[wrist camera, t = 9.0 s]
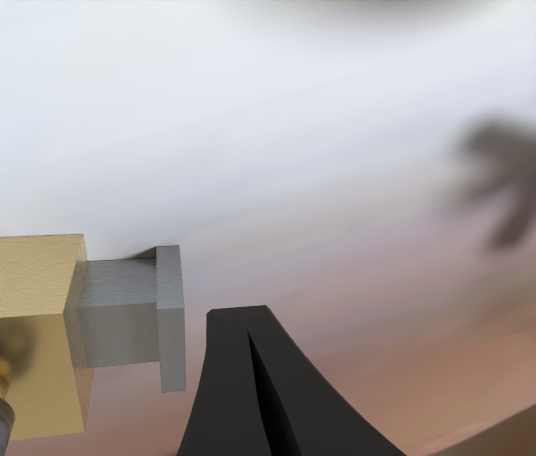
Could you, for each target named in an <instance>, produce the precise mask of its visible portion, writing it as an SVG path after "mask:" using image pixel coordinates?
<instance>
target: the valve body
mask: <svg viewBox="0 0 536 456" xmlns="http://www.w3.org/2000/svg"><path fill="white" fill-rule="evenodd" d="M156 255H157V258H145V259H126V260H107V261H88V262H87V257H86V250H85V243H84V236H83V234H74V235H50V236H25V237H1V238H0V398H2V399H4V400H5V401H6V402H7V403H8V404H9V405H10V406H11V407H12V409H13V411H14V414H15V422H14V425H13V428H12V432H11V435H10V438H9V441H15V440H23V439H31V438H39V437H47V436H55V435H63V434H71V433H79V432H85V427H86V420H87V413H88V407H89V400H90V393H91V387H92V380H93V373H94V368H95V367H105V366H115V365H125V364H135V363H146V362H156V361H160V374H161V391H162V393H165V392H174V391H183V390H186V364H185V321H184V299H183V287H182V274H181V262H180V249H179V246H159V247H156Z"/></svg>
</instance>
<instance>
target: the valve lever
mask: <svg viewBox="0 0 536 456" xmlns="http://www.w3.org/2000/svg"><path fill="white" fill-rule="evenodd" d="M14 422H15V414H14V411H13V409H12V407H11V406H10V405H9V404H8V403H7V402H6V401H5V400H4V399H2V398H0V456H4V455H5V451H6V448H7V445H8V441H9V438H10V435H11V432H12V428H13V425H14Z"/></svg>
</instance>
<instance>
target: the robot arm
mask: <svg viewBox="0 0 536 456" xmlns="http://www.w3.org/2000/svg"><path fill="white" fill-rule="evenodd" d="M177 456H407V455H405V454H404V453H403V452H402V451H401V450H399V449H398V448H397V447H396V446H395V445H394V444H392V443H391V442H390V441H389V440H388V439H386V438H385V437H384V436H383V435H382V434H381V433H380V432H379V431H377V430H376V429H375V428H374V427H373V426H372V425H371V424H370V423H369V422H367V421H366V420H365V419H364V418H363V417H362V416H361V415H360V414H359V413H358V412H357V411H356V410H355V409H354V408H353V407H352V406H351V405H350V404H349V403H348V402H347V401H346V400H345V399H344V398H343V397H342V396H341V395H340V394H339V393H338V392H337V391H336V390H335V389H334V388H333V387H332V385H331V384H330V383H329V382H328V381H327V380H326V379H325V378H324V377H323V376H322V374H321V373H320V372H319V371H318V370H317V369H316V367H315V366H314V365H313V364H312V363H311V362H310V361H309V359H308V358H307V357H306V356H305V355H304V353H303V352H302V351H301V350H300V349H299V347H298V346H297V345H296V344H295V342H294V341H293V340H292V338H291V337H290V336H289V335H288V333H287V332H286V331H285V329H284V328H283V327H282V325H281V324H280V323H279V321H278V320H277V318H276V317H275V316H274V314H273V313H272V311H271V310H270V309H269V308H268V307H267V306H266V305H261V306H248V307H235V308H223V309H212V310H210V311H209V312H208V313H207V329H206V353H205V359H204V363H203V368H202V373H201V378H200V382H199V386H198V390H197V394H196V397H195V401H194V404H193V408H192V411H191V414H190V418H189V421H188V424H187V427H186V430H185V433H184V436H183V439H182V442H181V445H180V448H179V450H178V453H177Z"/></svg>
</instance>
